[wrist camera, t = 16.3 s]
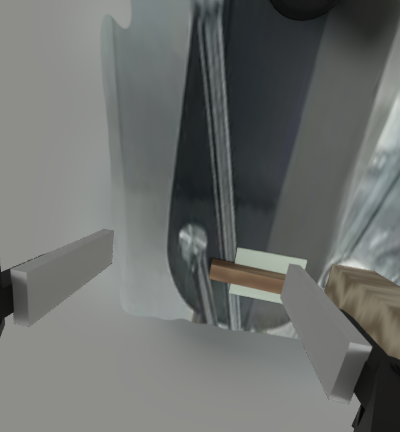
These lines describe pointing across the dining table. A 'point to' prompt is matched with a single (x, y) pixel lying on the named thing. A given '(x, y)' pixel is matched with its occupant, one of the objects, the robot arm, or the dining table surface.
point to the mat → (267, 263)
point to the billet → (247, 276)
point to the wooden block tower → (368, 303)
